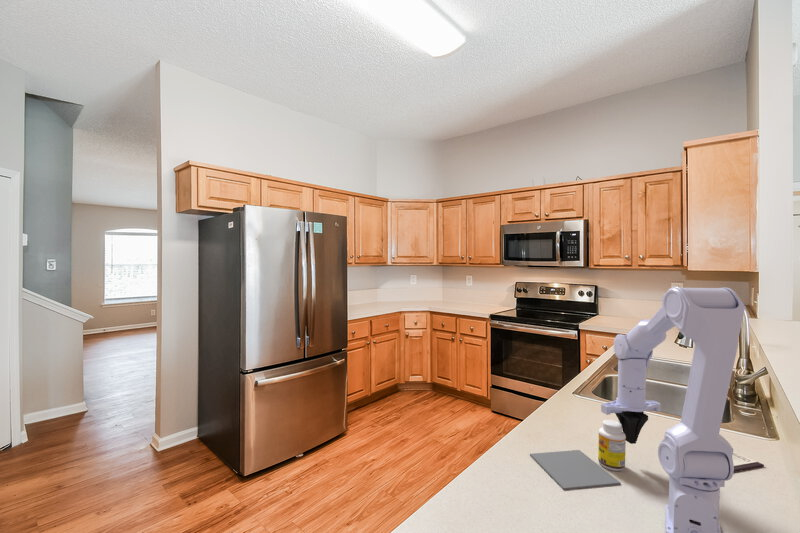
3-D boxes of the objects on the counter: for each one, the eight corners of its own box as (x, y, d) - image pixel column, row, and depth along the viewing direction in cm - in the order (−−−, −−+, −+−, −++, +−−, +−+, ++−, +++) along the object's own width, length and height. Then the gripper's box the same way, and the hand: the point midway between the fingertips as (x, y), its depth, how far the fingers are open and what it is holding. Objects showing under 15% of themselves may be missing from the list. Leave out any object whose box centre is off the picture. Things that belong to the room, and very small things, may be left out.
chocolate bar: (668, 454, 92) (722, 446, 97) (668, 458, 92) (722, 449, 97) (706, 474, 84) (764, 464, 88) (706, 479, 84) (763, 468, 88)
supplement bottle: (596, 457, 92) (597, 416, 91) (622, 461, 90) (623, 420, 89) (600, 469, 86) (601, 425, 86) (627, 474, 84) (628, 430, 84)
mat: (579, 451, 94) (579, 449, 94) (620, 484, 80) (620, 482, 80) (529, 455, 92) (529, 453, 92) (563, 489, 78) (563, 488, 78)
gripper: (644, 378, 93) (643, 432, 94) (592, 381, 91) (591, 435, 91) (669, 388, 87) (667, 445, 87) (613, 391, 84) (612, 450, 84)
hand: (630, 441), depth 89 cm, fingers closed
